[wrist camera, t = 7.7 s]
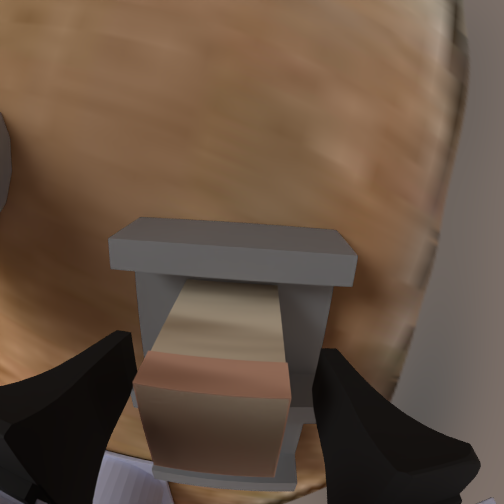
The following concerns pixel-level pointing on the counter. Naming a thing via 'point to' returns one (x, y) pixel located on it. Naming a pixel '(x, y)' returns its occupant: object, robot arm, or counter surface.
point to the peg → (217, 381)
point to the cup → (4, 162)
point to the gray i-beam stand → (250, 272)
